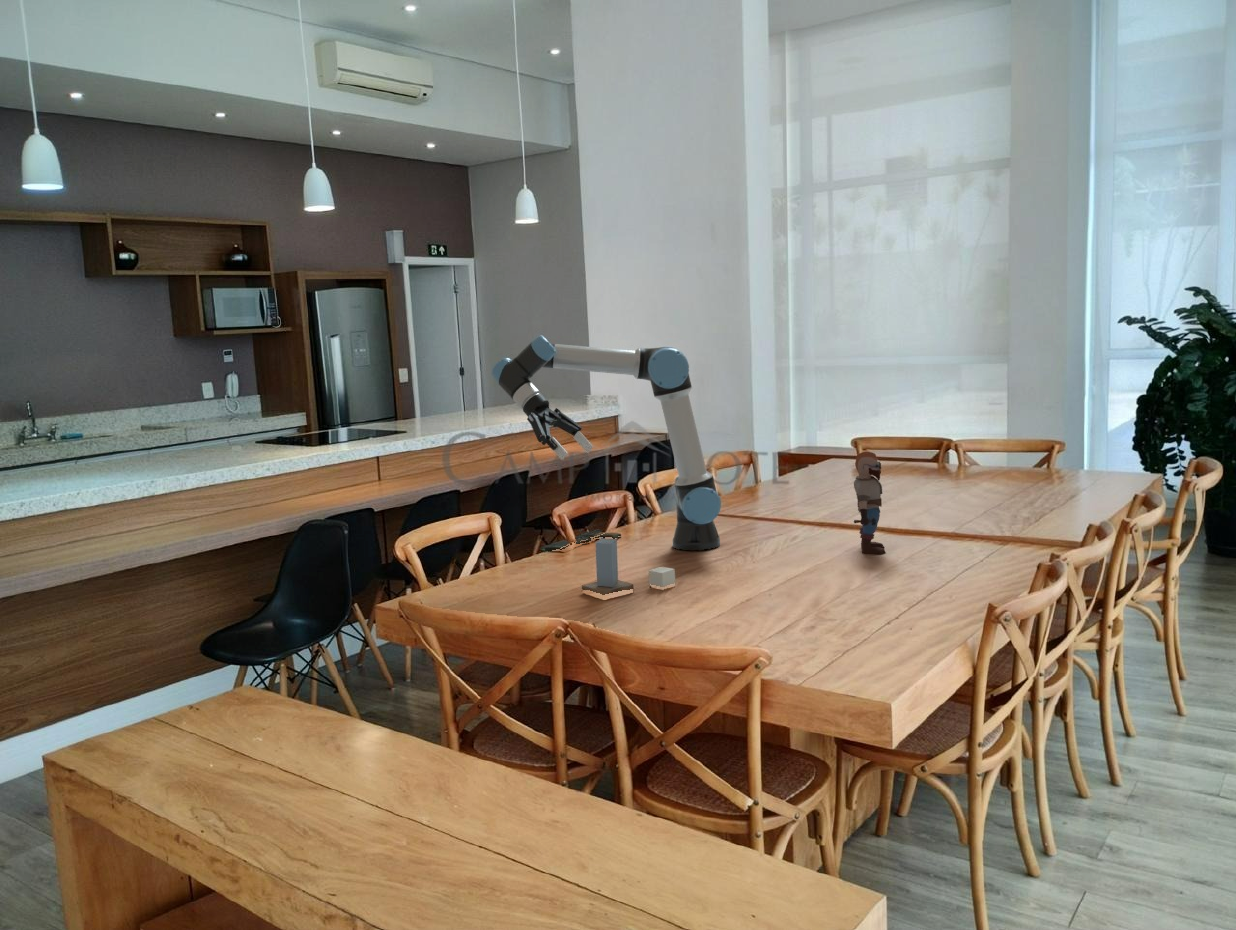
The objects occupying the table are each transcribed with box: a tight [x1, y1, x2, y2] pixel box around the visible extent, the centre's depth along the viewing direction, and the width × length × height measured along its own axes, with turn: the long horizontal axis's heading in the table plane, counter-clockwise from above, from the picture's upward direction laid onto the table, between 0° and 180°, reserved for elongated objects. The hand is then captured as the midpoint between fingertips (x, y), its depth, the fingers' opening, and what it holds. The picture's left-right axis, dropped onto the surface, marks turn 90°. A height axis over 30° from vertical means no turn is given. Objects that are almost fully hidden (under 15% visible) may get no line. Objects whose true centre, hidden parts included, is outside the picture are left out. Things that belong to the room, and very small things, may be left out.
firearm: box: [540, 528, 622, 553], centre depth 328 cm, size 28×2×15 cm
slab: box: [581, 579, 635, 595], centre depth 265 cm, size 10×10×3 cm
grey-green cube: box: [648, 566, 676, 587], centre depth 268 cm, size 5×5×5 cm
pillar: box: [595, 538, 619, 587], centre depth 264 cm, size 4×4×12 cm
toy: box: [853, 451, 887, 555], centre depth 294 cm, size 22×9×30 cm, turn 168°
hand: (577, 453), depth 284 cm, fingers open, 13 cm apart
